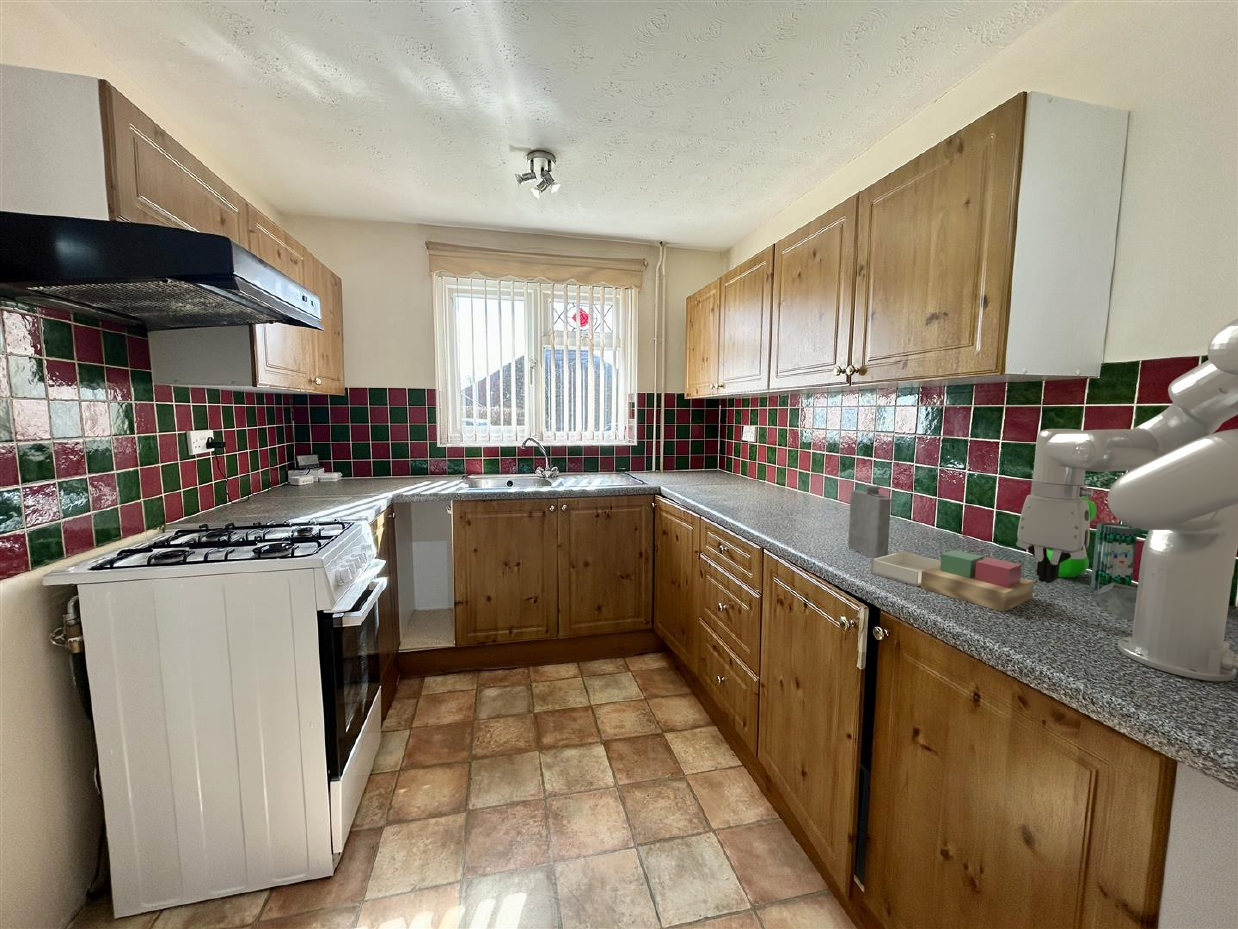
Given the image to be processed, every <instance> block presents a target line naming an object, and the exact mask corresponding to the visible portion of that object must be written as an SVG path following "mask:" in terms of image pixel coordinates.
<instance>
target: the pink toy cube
mask: <svg viewBox="0 0 1238 929" xmlns="http://www.w3.org/2000/svg"><path fill="white" fill-rule="evenodd" d="M1021 578H1022V564H1021V563H1015V562H1012V561H1011V562H1010V561H1007V560H1002V559H997V558H993V557H986V558H984V559H983V560H980V561H977V562H976V571H975V580H979V581H983V582H987V583H991V584H995V585H998V586H1002V587H1006V588H1009V587H1011V586H1014V585H1016V584H1018V583H1020V579H1021Z"/></svg>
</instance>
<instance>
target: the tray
mask: <svg viewBox="0 0 1238 929" xmlns="http://www.w3.org/2000/svg"><path fill="white" fill-rule="evenodd" d="M870 564H871V565H870V566H871V567H870V574H871V573H873V574H872V575H875V574H876V576H878V575H879V577H882V578H885V577H887V578H886V579H888V578H890V579H889V580H892V579H893V581H896V582H899V583H902V584H906V583H907V584H906V585H909V586H913V587H921V577H922V571H924V570H927V569H930V568H934V567H937V566H940V565H941V559H936V558H932V557H927V556H923V555H920V554H916V553H915V554H914V553H910V552H906V551H903V550H902V551H899V552H895V553H891V554H888V555H887V556H883V557H879V558H875V559H871V563H870Z"/></svg>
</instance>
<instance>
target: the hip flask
mask: <svg viewBox="0 0 1238 929" xmlns="http://www.w3.org/2000/svg"><path fill="white" fill-rule="evenodd" d="M864 486H865V487H864V488H865V489H866V490H865V491H863V490H860V489H859V490H855V489H851V490H850V497H849V498H850V500H849V520H848V524H849V525H848V538H847V540H848V542H847V548H848V547H849V548H851V549H854V550H856V551H858V552H862V553H863V554H865V555H867V556H868V557H867V556H866V557H867V558H869V557H870V558H872V559H875V558H879V557H883V556H887V555H889V554H888V553H889V537H890V524H891V523H890V521H891V507H892V506H891V505H892V498H890V497H888V496H886V495H884V494H881V493H880V489H881V488H880V487H881V486H880V485H874V484H872V485H871V484H870V485H868V484H867V485H864ZM856 551H855V552H856ZM858 552H857V553H858ZM863 554H862V555H863ZM865 555H864V556H865ZM870 558H869V559H870ZM872 559H871V560H872Z"/></svg>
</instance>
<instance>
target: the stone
mask: <svg viewBox="0 0 1238 929" xmlns="http://www.w3.org/2000/svg"><path fill="white" fill-rule="evenodd" d="M1137 589H1138V587H1133V586H1132V585H1131V586H1126V585H1121V584H1117V583H1110V584H1108V585H1106V586H1103V587H1102V588H1101V589H1099V590H1096V591H1095V592H1094V593H1095V595H1096V597H1097V600H1098V602H1099V603H1100V605H1101V607H1102V609H1104V610H1105V611H1108V612H1109V613H1111V614H1113V615H1115V616H1116V617H1118V618H1121V619H1123V620H1128V621H1134V615H1135V607H1136V598H1137Z"/></svg>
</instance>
